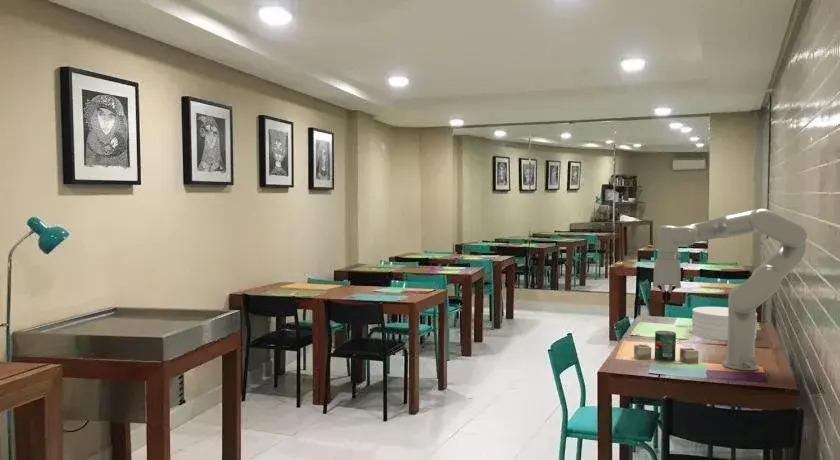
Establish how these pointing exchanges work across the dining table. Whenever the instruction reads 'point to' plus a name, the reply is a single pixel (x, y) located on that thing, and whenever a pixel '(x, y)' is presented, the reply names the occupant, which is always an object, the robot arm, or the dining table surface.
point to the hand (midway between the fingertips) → (666, 301)
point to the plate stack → (711, 322)
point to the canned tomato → (665, 346)
